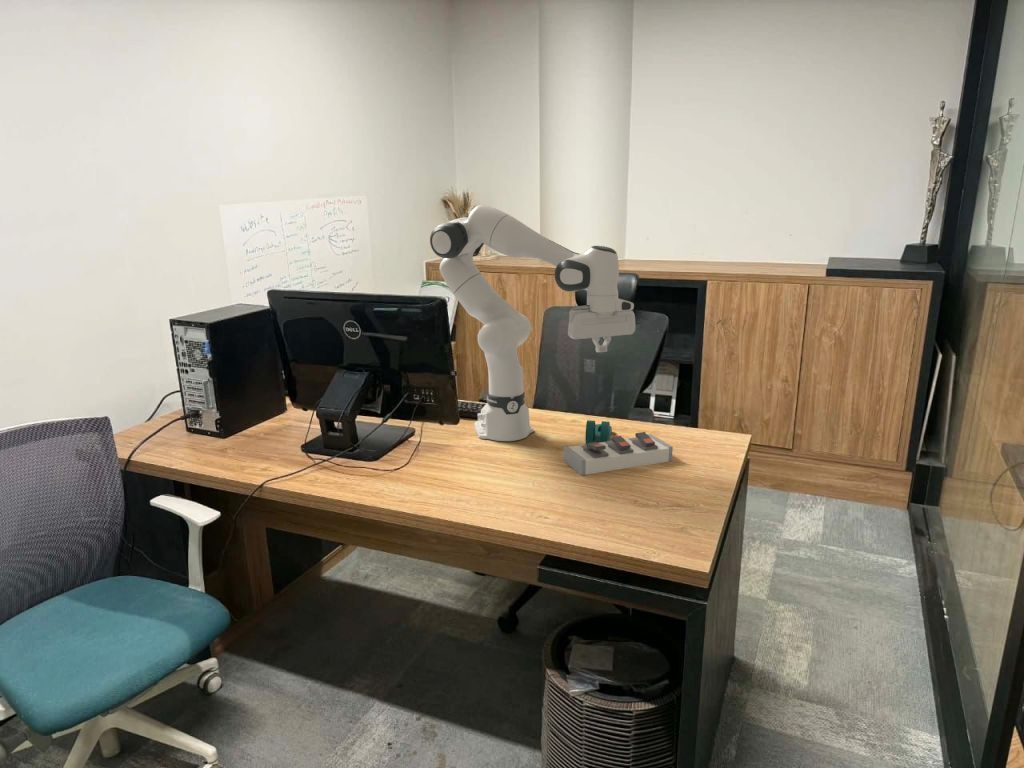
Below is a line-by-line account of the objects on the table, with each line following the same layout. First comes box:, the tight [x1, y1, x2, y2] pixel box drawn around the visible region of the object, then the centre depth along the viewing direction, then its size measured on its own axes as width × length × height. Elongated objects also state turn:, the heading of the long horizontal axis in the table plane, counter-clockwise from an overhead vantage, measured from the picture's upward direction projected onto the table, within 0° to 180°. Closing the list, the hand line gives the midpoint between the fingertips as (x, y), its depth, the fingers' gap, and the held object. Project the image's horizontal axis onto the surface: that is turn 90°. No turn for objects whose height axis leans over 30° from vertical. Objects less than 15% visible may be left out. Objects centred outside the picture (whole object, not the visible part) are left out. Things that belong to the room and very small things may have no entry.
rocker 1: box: [586, 442, 606, 451], centre depth 198 cm, size 6×3×1 cm, turn 21°
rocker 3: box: [634, 431, 655, 447], centre depth 204 cm, size 6×3×1 cm, turn 21°
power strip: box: [563, 433, 674, 476], centre depth 203 cm, size 12×29×5 cm, turn 111°
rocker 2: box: [610, 435, 631, 450], centre depth 201 cm, size 6×3×1 cm, turn 21°
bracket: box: [584, 420, 613, 445], centre depth 221 cm, size 18×7×8 cm, turn 167°
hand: (601, 351), depth 202 cm, fingers closed
